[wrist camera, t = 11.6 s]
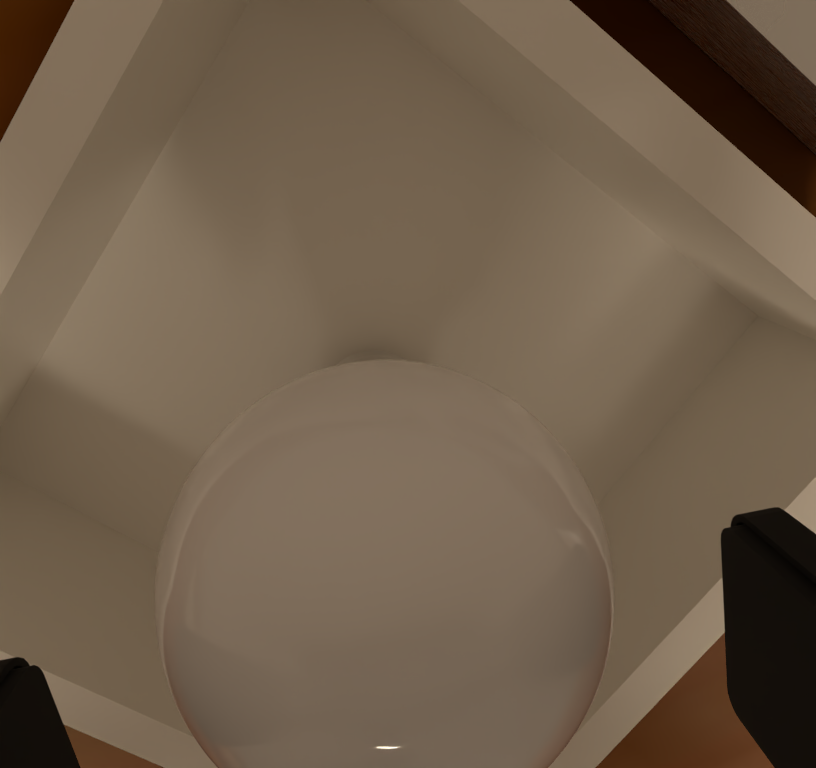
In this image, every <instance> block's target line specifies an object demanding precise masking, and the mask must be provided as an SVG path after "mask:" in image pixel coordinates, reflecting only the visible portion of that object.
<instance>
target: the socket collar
mask: <svg viewBox="0 0 816 768" xmlns="http://www.w3.org/2000/svg"><path fill="white" fill-rule="evenodd" d="M648 1H649V2H650V3H651V4H652V5H653V6H654V7H656V8H657V9H658V10H659V11H660V12H661V13H662V14H663V15H664V16H665V17H666V18H668V19H669V20H670V21H671V22H672V23H673V24H674V25H675V26H676V27H677V28H678V29H680V30H681V31H682V32H683V33H684V34H685V35H686V36H687V37H688V38H689V39H690V40H692V41H693V42H694V43H695V44H696V45H697V46H698V47H699V48H700V49H701V50H702V51H703V52H705V53H706V54H707V55H708V56H709V57H710V58H711V59H712V60H713V61H714V62H715V63H717V64H718V65H719V66H720V67H721V68H722V69H723V70H724V71H725V72H726V73H727V74H729V75H730V76H731V77H732V78H733V79H734V80H735V81H736V82H737V83H738V84H739V85H741V86H742V87H743V88H744V89H745V90H746V91H747V92H748V93H749V94H750V95H751V96H753V97H754V98H755V99H756V100H757V101H758V102H759V103H760V104H761V105H762V106H763V107H764V108H766V109H767V110H768V111H769V112H770V113H771V114H772V115H773V116H774V117H775V118H776V119H778V120H779V121H780V122H781V123H782V124H783V125H784V126H785V127H786V128H787V129H788V130H790V131H791V132H792V133H793V134H794V135H795V136H796V137H797V138H798V139H799V140H800V141H802V142H803V143H804V144H805V145H806V146H807V147H808V148H809V149H810V150H811V151H812V152H814V153H815V154H816V0H648Z"/></svg>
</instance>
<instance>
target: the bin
mask: <svg viewBox="0 0 816 768" xmlns="http://www.w3.org/2000/svg"><path fill="white" fill-rule="evenodd" d="M370 350H377V351H386V352H390V353H393V354H396V355H398V356H400V357H402V358H404V359H406V360H409V361H417V362H424V363H429V364H434V365H438V366H442V367H446V368H449V369H452V370H456V371H459V372H461V373H464V374H467V375H469V376H472V377H474V378H476V379H478V380H481V381H483V382H485V383H487V384H489V385H491V386H492V387H494V388H496V389H498V390H500V391H501V392H503V393H505V394H506V395H508V396H509V397H511V398H512V399H513V400H515V401H516V402H518V403H519V404H520V405H522V406H523V407H524V408H526V409H527V410H528V411H529V412H530V413H532V414H533V415H534V416H535V417H536V418H537V419H538V420H539V421H541V422H542V423H543V424H544V425H545V426H546V427H547V428H548V429H549V431H550V432H551V433H552V434H553V435H554V436H555V437H556V438H557V439H558V441H559V442H560V443H561V444H562V446H563V447H564V448H565V449H566V451H567V452H568V453H569V455H570V456H571V457H572V459H573V460H574V462H575V463H576V465H577V466H578V468H579V470H580V471H581V473H582V475H583V476H584V478H585V480H586V482H587V484H588V486H589V488H590V490H591V492H592V494H593V496H594V498H595V501H596V503H597V506H598V508H599V511H600V513H601V516H602V519H603V522H604V525H605V529H606V533H607V536H608V540H609V545H610V550H611V556H612V562H613V570H614V582H615V614H614V625H613V633H612V640H611V645H610V650H609V655H608V659H607V663H606V666H605V670H604V673H603V676H602V679H601V682H600V685H599V687H598V690H597V693H596V695H595V697H594V700H593V702H592V704H591V706H590V708H589V710H588V712H587V714H586V716H585V718H584V720H583V721H582V723H581V725H580V727H579V728H578V730H577V731H576V733H575V734H574V736H573V737H572V739H571V740H570V742H569V743H568V745H567V746H566V747H565V749H564V750H563V751H562V752H561V754H560V755H559V756H558V757H557V759H556V760H555V761H554V762H553V763H552V764H551V765H550V766H549V767H548V768H595V767H596V766H597V765H598V764H599V763H600V762H601V761H602V760H603V759H604V758H605V757H606V756H607V755H608V754H609V753H610V752H611V751H612V750H613V749H614V748H615V746H616V745H617V744H618V743H619V742H620V741H621V740H622V739H623V738H624V737H625V736H626V735H627V734H628V733H629V732H630V731H631V730H632V729H633V728H634V727H635V726H636V724H637V723H638V722H639V721H640V720H641V719H642V718H643V717H644V716H645V715H646V714H647V713H648V712H649V711H650V710H651V709H652V708H653V707H654V706H655V705H656V704H657V702H658V701H659V700H660V699H661V698H662V697H663V696H664V695H665V694H666V693H667V692H668V691H669V690H670V689H671V688H672V687H673V686H674V685H675V684H676V683H677V682H678V681H679V679H680V678H681V677H682V676H683V675H684V674H685V673H686V672H687V671H688V670H689V669H690V668H691V667H692V666H693V665H694V664H695V663H696V662H697V661H698V660H699V659H700V657H701V656H702V655H703V654H704V653H705V652H706V651H707V650H708V649H709V648H710V647H711V646H712V645H713V644H714V643H715V642H716V641H717V640H718V639H719V638H720V637H721V635H722V634H723V633H724V632H725V625H724V603H723V580H722V558H721V533H722V530H723V529H724V528H728V527H731V521H732V518H733V517H734V516H735V515H738V514H743V513H748V512H753V511H758V510H763V509H768V508H773V507H779V508H781V509H783V510H785V511H786V512H787V513H789V514H790V515H791V516H793V517H794V518H795V519H797V520H798V521H799V522H801V523H802V524H803V525H805V526H806V527H807V528H809V529H810V530H811V531H813V532H814V533H815V534H816V218H815V217H814V216H813V215H812V214H811V213H810V212H809V211H807V210H806V209H805V208H804V207H803V206H802V205H801V204H799V203H798V202H797V201H796V200H795V199H794V198H793V197H792V196H790V195H789V194H788V193H787V192H786V191H785V190H784V189H782V188H781V187H780V186H779V185H778V184H777V183H776V182H775V181H773V180H772V179H771V178H770V177H769V176H768V175H767V174H766V173H764V172H763V171H762V170H761V169H760V168H759V167H758V166H756V165H755V164H754V163H753V162H752V161H751V160H750V159H749V158H747V157H746V156H745V155H744V154H743V153H742V152H741V151H739V150H738V149H737V148H736V147H735V146H734V145H733V144H732V143H730V142H729V141H728V140H727V139H726V138H725V137H724V136H723V135H721V134H720V133H719V132H718V131H717V130H716V129H715V128H713V127H712V126H711V125H710V124H709V123H708V122H707V121H706V120H704V119H703V118H702V117H701V116H700V115H699V114H698V113H696V112H695V111H694V110H693V109H692V108H691V107H690V106H689V105H687V104H686V103H685V102H684V101H683V100H682V99H681V98H680V97H678V96H677V95H676V94H675V93H674V92H673V91H672V90H670V89H669V88H668V87H667V86H666V85H665V84H664V83H663V82H661V81H660V80H659V79H658V78H657V77H656V76H655V75H653V74H652V73H651V72H650V71H649V70H648V69H647V68H646V67H644V66H643V65H642V64H641V63H640V62H639V61H638V60H636V59H635V58H634V57H633V56H632V55H631V54H630V53H629V52H627V51H626V50H625V49H624V48H623V47H622V46H621V45H620V44H618V43H617V42H616V41H615V40H614V39H613V38H612V37H610V36H609V35H608V34H607V33H606V32H605V31H604V30H603V29H601V28H600V27H599V26H598V25H597V24H596V23H595V22H593V21H592V20H591V19H590V18H589V17H588V16H587V15H586V14H584V13H583V12H582V11H581V10H580V9H579V8H578V7H577V6H575V5H574V4H573V3H572V2H571V1H570V0H74V2H73V4H72V6H71V8H70V10H69V12H68V14H67V16H66V18H65V19H64V21H63V23H62V25H61V27H60V29H59V31H58V33H57V35H56V37H55V39H54V41H53V42H52V44H51V46H50V48H49V50H48V52H47V54H46V56H45V58H44V60H43V62H42V64H41V65H40V67H39V69H38V71H37V73H36V75H35V77H34V79H33V81H32V83H31V85H30V86H29V88H28V90H27V92H26V94H25V96H24V98H23V100H22V102H21V104H20V106H19V108H18V109H17V111H16V113H15V115H14V117H13V119H12V121H11V123H10V125H9V127H8V129H7V131H6V132H5V134H4V136H3V138H2V140H1V142H0V660H4V659H9V658H15V657H21V658H24V659H25V660H26V661H27V662H28V663H29V665H30V666H32V665H35V666H38V667H39V668H40V669H41V670H42V672H43V673H44V676H45V678H46V681H47V683H48V686H49V689H50V691H51V694H52V696H53V699H54V701H55V704H56V706H57V709H58V712H59V714H60V717H61V719H62V722H63V724H64V725H67V726H69V727H71V728H74V729H76V730H78V731H81V732H83V733H85V734H88V735H90V736H92V737H94V738H97V739H99V740H101V741H104V742H106V743H108V744H111V745H113V746H115V747H118V748H120V749H122V750H125V751H127V752H129V753H132V754H134V755H136V756H139V757H141V758H143V759H146V760H148V761H150V762H152V763H155V764H157V765H159V766H162V767H164V768H217V767H216V765H215V764H214V763H213V762H212V761H211V760H210V759H209V757H208V756H207V755H206V754H205V752H204V751H203V750H202V748H201V747H200V746H199V744H198V743H197V741H196V740H195V738H194V737H193V735H192V734H191V732H190V731H189V729H188V727H187V726H186V724H185V722H184V720H183V718H182V717H181V715H180V713H179V711H178V709H177V706H176V704H175V702H174V700H173V697H172V695H171V692H170V690H169V687H168V684H167V681H166V678H165V675H164V672H163V668H162V664H161V660H160V656H159V650H158V645H157V639H156V630H155V619H154V587H155V574H156V566H157V560H158V554H159V549H160V545H161V541H162V537H163V533H164V530H165V527H166V524H167V521H168V518H169V515H170V512H171V510H172V507H173V505H174V503H175V500H176V498H177V496H178V494H179V491H180V490H181V488H182V486H183V484H184V482H185V480H186V478H187V477H188V475H189V473H190V472H191V470H192V468H193V467H194V465H195V464H196V462H197V461H198V459H199V458H200V457H201V455H202V454H203V452H204V451H205V450H206V448H207V447H208V446H209V445H210V444H211V442H212V441H213V440H214V439H215V438H216V437H217V436H218V434H219V433H220V432H221V431H222V430H223V429H224V428H225V427H226V426H227V425H228V424H229V423H230V422H231V421H232V420H233V419H235V418H236V417H237V416H238V415H239V414H240V413H241V412H243V411H244V410H245V409H246V408H248V407H249V406H250V405H252V404H253V403H254V402H256V401H257V400H259V399H260V398H262V397H263V396H265V395H266V394H268V393H269V392H271V391H273V390H274V389H276V388H278V387H280V386H282V385H284V384H286V383H288V382H290V381H292V380H294V379H296V378H299V377H301V376H303V375H306V374H309V373H311V372H314V371H317V370H320V369H323V368H327V367H330V366H335V365H337V364H338V363H339V362H340V361H342V360H343V359H345V358H347V357H349V356H351V355H353V354H356V353H359V352H363V351H370Z"/></svg>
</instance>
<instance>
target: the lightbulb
mask: <svg viewBox="0 0 816 768" xmlns="http://www.w3.org/2000/svg"><path fill="white" fill-rule="evenodd" d="M614 614H615V582H614V570H613V562H612V556H611V550H610V545H609V540H608V536H607V533H606V529H605V525H604V522H603V519H602V516H601V513H600V511H599V508H598V506H597V503H596V501H595V498H594V496H593V494H592V492H591V490H590V488H589V486H588V484H587V482H586V480H585V478H584V476H583V475H582V473H581V471H580V470H579V468H578V466H577V465H576V463H575V462H574V460H573V459H572V457H571V456H570V455H569V453H568V452H567V451H566V449H565V448H564V447H563V446H562V444H561V443H560V442H559V441H558V439H557V438H556V437H555V436H554V435H553V434H552V433H551V432H550V431H549V429H548V428H547V427H546V426H545V425H544V424H543V423H542V422H541V421H539V420H538V419H537V418H536V417H535V416H534V415H533V414H532V413H530V412H529V411H528V410H527V409H526V408H524V407H523V406H522V405H520V404H519V403H518V402H516V401H515V400H513V399H512V398H511V397H509V396H508V395H506V394H505V393H503V392H501V391H500V390H498V389H496V388H494V387H492V386H491V385H489V384H487V383H485V382H483V381H481V380H478V379H476V378H474V377H472V376H469V375H467V374H464V373H461V372H459V371H456V370H452V369H449V368H446V367H442V366H438V365H434V364H429V363H424V362H417V361H409V360H406V359H404V358H402V357H400V356H398V355H396V354H393V353H390V352H386V351H377V350H370V351H363V352H359V353H356V354H353V355H351V356H349V357H347V358H345V359H343V360H342V361H340V362H339V363H338V364H337V365H335V366H330V367H327V368H323V369H320V370H317V371H314V372H311V373H309V374H306V375H303V376H301V377H299V378H296V379H294V380H292V381H290V382H288V383H286V384H284V385H282V386H280V387H278V388H276V389H274V390H273V391H271V392H269V393H268V394H266V395H265V396H263V397H262V398H260V399H259V400H257V401H256V402H254V403H253V404H252V405H250V406H249V407H248V408H246V409H245V410H244V411H243V412H241V413H240V414H239V415H238V416H237V417H236V418H235V419H233V420H232V421H231V422H230V423H229V424H228V425H227V426H226V427H225V428H224V429H223V430H222V431H221V432H220V433H219V434H218V436H217V437H216V438H215V439H214V440H213V441H212V442H211V444H210V445H209V446H208V447H207V448H206V450H205V451H204V452H203V454H202V455H201V457H200V458H199V459H198V461H197V462H196V464H195V465H194V467H193V468H192V470H191V472H190V473H189V475H188V477H187V478H186V480H185V482H184V484H183V486H182V488H181V490H180V491H179V494H178V496H177V498H176V500H175V503H174V505H173V507H172V510H171V512H170V515H169V518H168V521H167V524H166V527H165V530H164V533H163V537H162V541H161V545H160V549H159V554H158V560H157V566H156V574H155V587H154V619H155V630H156V639H157V645H158V650H159V656H160V660H161V664H162V668H163V672H164V675H165V678H166V681H167V684H168V687H169V690H170V692H171V695H172V697H173V700H174V702H175V704H176V706H177V709H178V711H179V713H180V715H181V717H182V718H183V720H184V722H185V724H186V726H187V727H188V729H189V731H190V732H191V734H192V735H193V737H194V738H195V740H196V741H197V743H198V744H199V746H200V747H201V748H202V750H203V751H204V752H205V754H206V755H207V756H208V757H209V759H210V760H211V761H212V762H213V763H214V764H215V765H216V767H217V768H548V767H549V766H550V765H551V764H552V763H553V762H554V761H555V760H556V759H557V757H558V756H559V755H560V754H561V752H562V751H563V750H564V749H565V747H566V746H567V745H568V743H569V742H570V740H571V739H572V737H573V736H574V734H575V733H576V731H577V730H578V728H579V727H580V725H581V723H582V721H583V720H584V718H585V716H586V714H587V712H588V710H589V708H590V706H591V704H592V702H593V700H594V697H595V695H596V693H597V690H598V687H599V685H600V682H601V679H602V676H603V673H604V670H605V666H606V663H607V659H608V655H609V650H610V645H611V640H612V633H613V625H614Z"/></svg>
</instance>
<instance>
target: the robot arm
mask: <svg viewBox="0 0 816 768" xmlns="http://www.w3.org/2000/svg"><path fill="white" fill-rule="evenodd" d="M721 558H722V580H723V603H724V625H725V647H726V669H727V688H728V694H729V698H730V701H731V704H732V707H733V709H734V711H735V713H736V715H737V716H738V718H739V719H740V721H741V722H742V723H743V725H744V726H745V728H746V729H747V730H748V732H749V733H750V734H751V736H752V737H753V738H754V740H755V741H756V743H757V744H758V745H759V747H760V748H761V749H762V751H763V752H764V754H765V755H766V756H767V758H768V759H769V760H770V762H771V763H772V765H773V766H774V767H775V768H816V534H815V533H814V532H813V531H811V530H810V529H809V528H807V527H806V526H805V525H803V524H802V523H801V522H799V521H798V520H797V519H795V518H794V517H793V516H791V515H790V514H789V513H787V512H786V511H785V510H783V509H781V508H779V507H773V508H768V509H763V510H758V511H753V512H748V513H743V514H738V515H735V516H734V517H733V518H732V521H731V527H728V528H724V529H723V530H722V533H721ZM0 768H80V766H79V763H78V760H77V758H76V755H75V753H74V750H73V748H72V745H71V742H70V740H69V737H68V735H67V732H66V730H65V727H64V724H63V722H62V719H61V717H60V714H59V712H58V709H57V706H56V704H55V701H54V699H53V696H52V694H51V691H50V689H49V686H48V683H47V681H46V678H45V676H44V673H43V672H42V670H41V669H40V668H39V667H38V666H35V665H32V666H30V665H29V663H28V662H27V661H26V660H25V659H24V658H21V657H15V658H9V659H4V660H0Z"/></svg>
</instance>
